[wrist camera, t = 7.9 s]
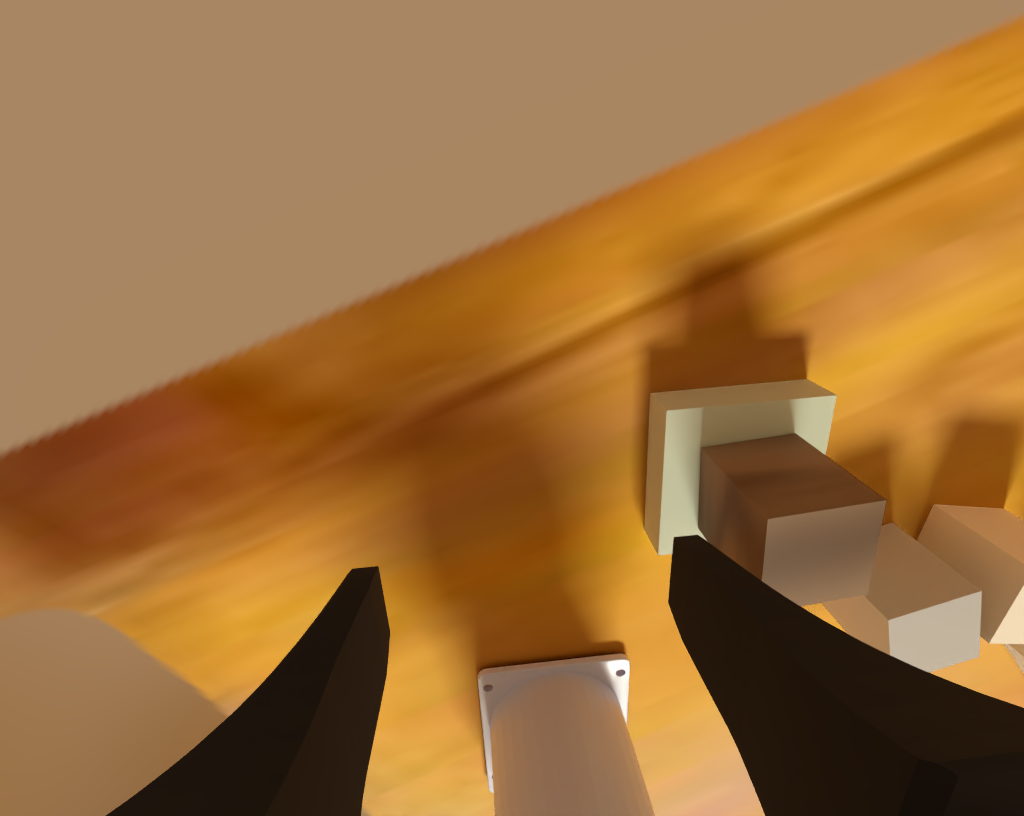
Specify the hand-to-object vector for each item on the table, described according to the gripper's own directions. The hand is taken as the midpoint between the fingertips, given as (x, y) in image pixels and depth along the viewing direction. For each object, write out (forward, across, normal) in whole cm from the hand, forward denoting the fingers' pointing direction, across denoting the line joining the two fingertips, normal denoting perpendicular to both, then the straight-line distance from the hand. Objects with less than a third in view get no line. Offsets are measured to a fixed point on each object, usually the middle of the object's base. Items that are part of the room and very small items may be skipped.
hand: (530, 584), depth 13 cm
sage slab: (+11, -10, +3) cm, 15 cm away
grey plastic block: (+10, -18, +10) cm, 23 cm away
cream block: (+10, -23, +9) cm, 27 cm away
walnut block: (+8, -10, +3) cm, 13 cm away
